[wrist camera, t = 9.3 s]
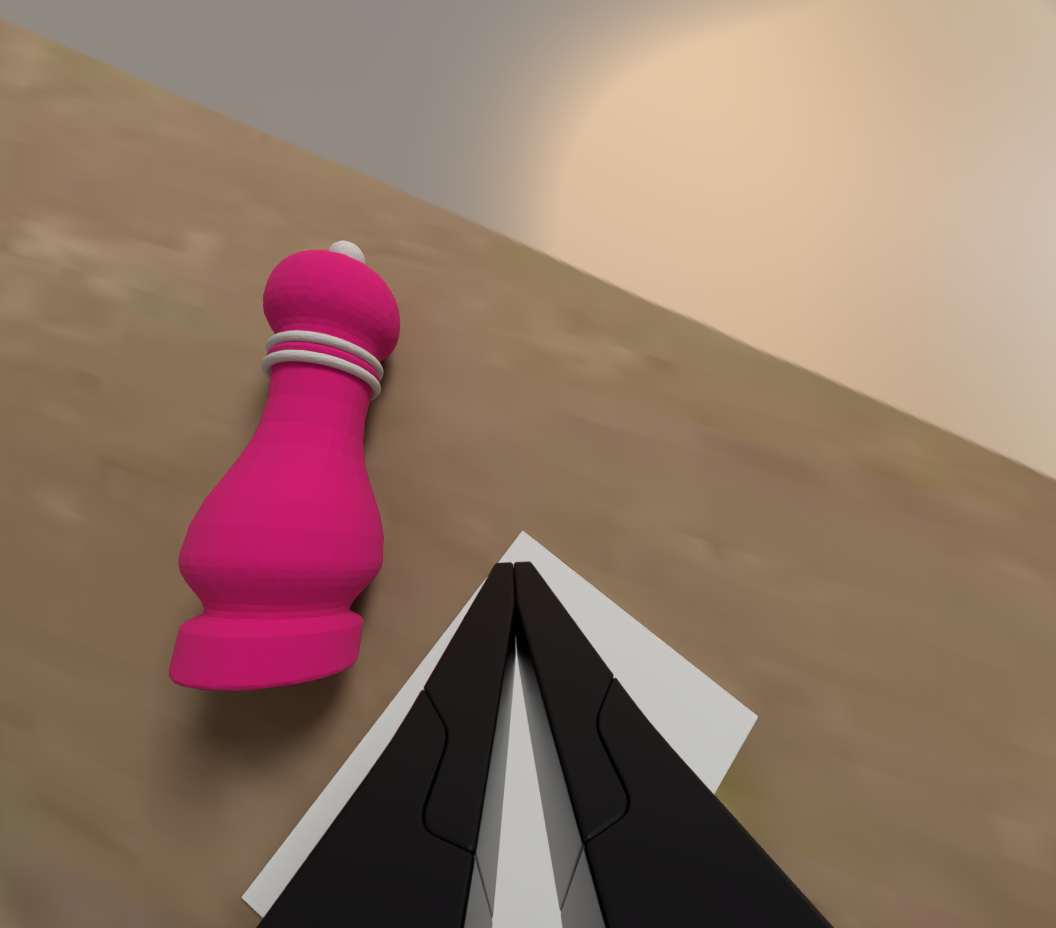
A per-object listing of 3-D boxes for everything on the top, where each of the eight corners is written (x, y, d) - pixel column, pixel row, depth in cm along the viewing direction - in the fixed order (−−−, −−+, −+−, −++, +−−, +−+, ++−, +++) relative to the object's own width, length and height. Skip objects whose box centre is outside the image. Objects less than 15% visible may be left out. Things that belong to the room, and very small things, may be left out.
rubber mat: (511, 1144, 16) (511, 1151, 16) (244, 893, 17) (241, 897, 17) (755, 714, 19) (758, 716, 19) (522, 530, 21) (522, 530, 20)
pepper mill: (390, 647, 19) (431, 297, 24) (326, 700, 12) (402, 188, 17) (238, 643, 19) (311, 287, 23) (79, 695, 12) (230, 171, 16)
